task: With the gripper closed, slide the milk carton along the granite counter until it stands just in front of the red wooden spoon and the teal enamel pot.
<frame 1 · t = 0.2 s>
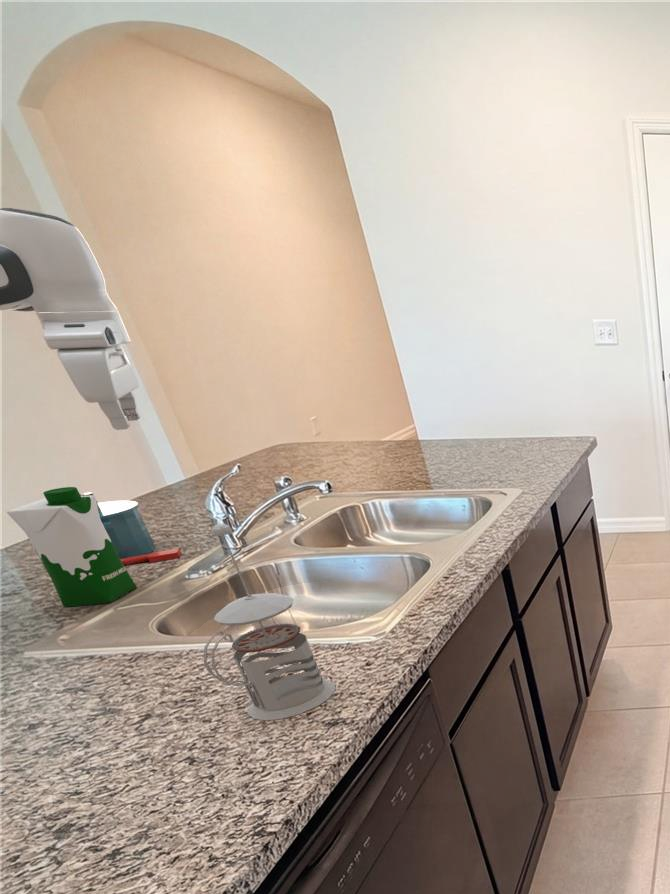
hand: (128, 424, 105), 31 cm above the counter, tool pointing down, fingers open, 8 cm apart
spoon: (134, 563, 134), on the counter
pot: (116, 555, 138), on the counter
milk carton: (101, 598, 119), on the counter
french press: (286, 703, 88), on the counter
white lid: (94, 512, 134), point 9 cm above the counter, touching pot
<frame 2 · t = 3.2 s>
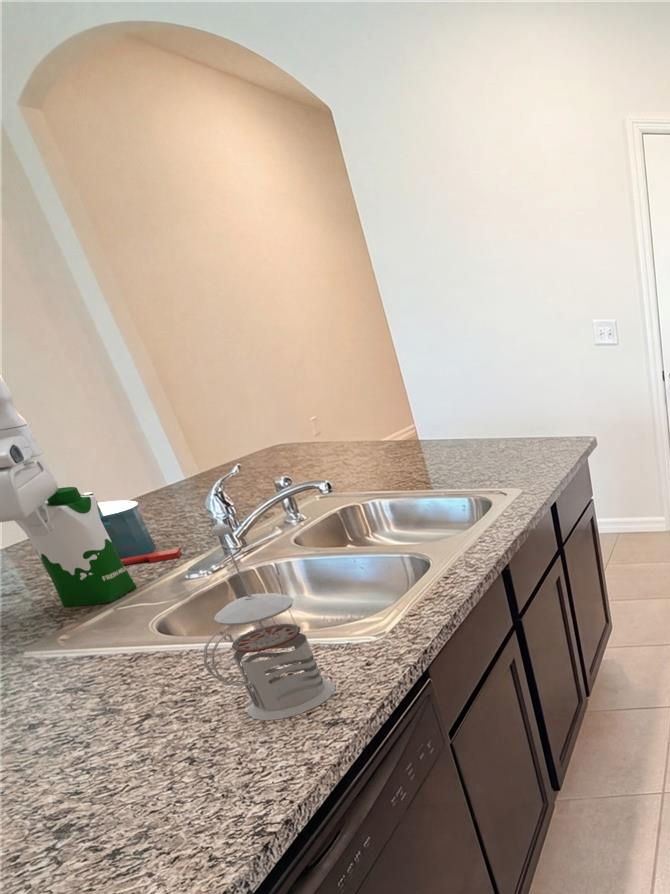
hand: (44, 533, 105), 15 cm above the counter, tool pointing down, fingers closed
nothing on the counter moved.
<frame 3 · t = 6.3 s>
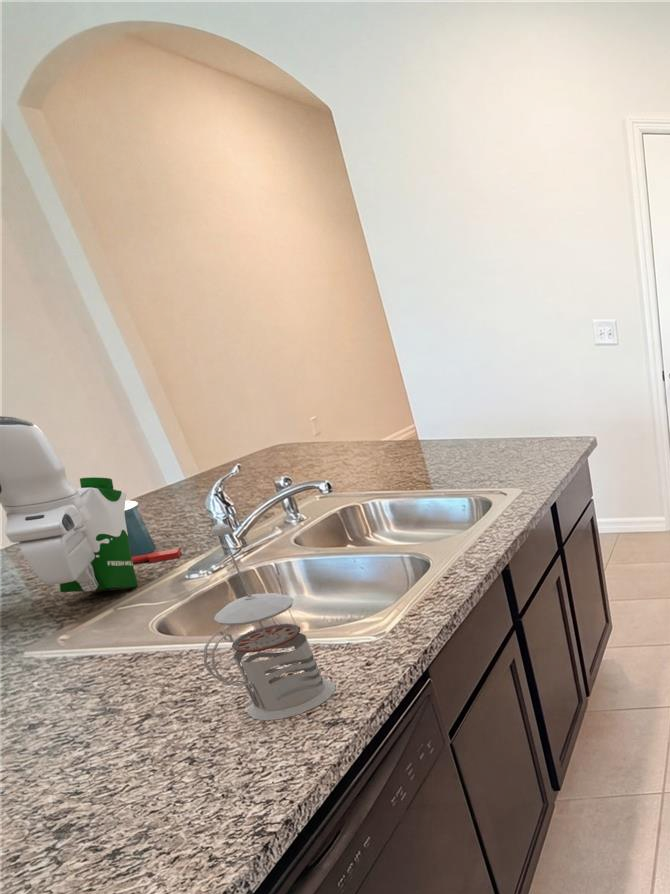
hand: (92, 589, 115), 3 cm above the counter, tool pointing down, fingers closed, pressing on milk carton
milk carton: (100, 590, 119), point 1 cm above the counter, touching gripper
everything else where it was.
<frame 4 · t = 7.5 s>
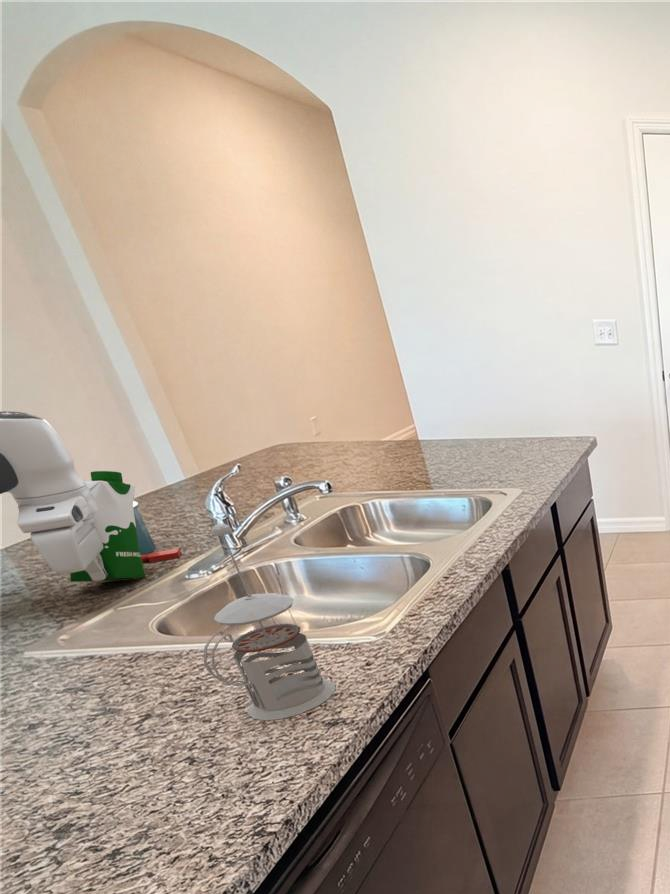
hand: (101, 578, 119), 3 cm above the counter, tool pointing down, fingers closed
milk carton: (109, 580, 123), point 1 cm above the counter, touching gripper
everything else where it was.
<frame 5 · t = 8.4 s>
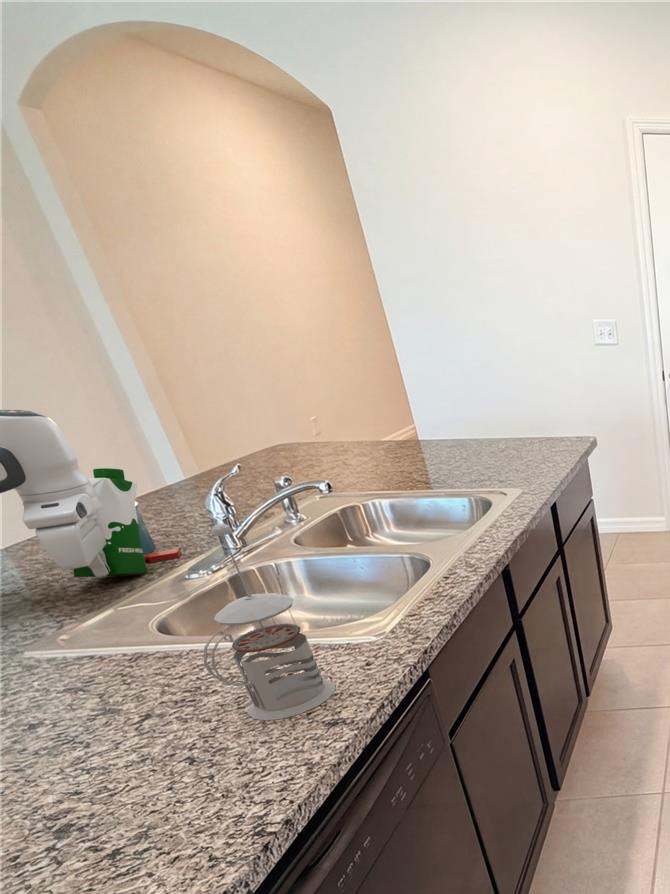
hand: (103, 574, 121), 3 cm above the counter, tool pointing down, fingers closed
milk carton: (111, 576, 125), point 1 cm above the counter, touching gripper
everything else where it was.
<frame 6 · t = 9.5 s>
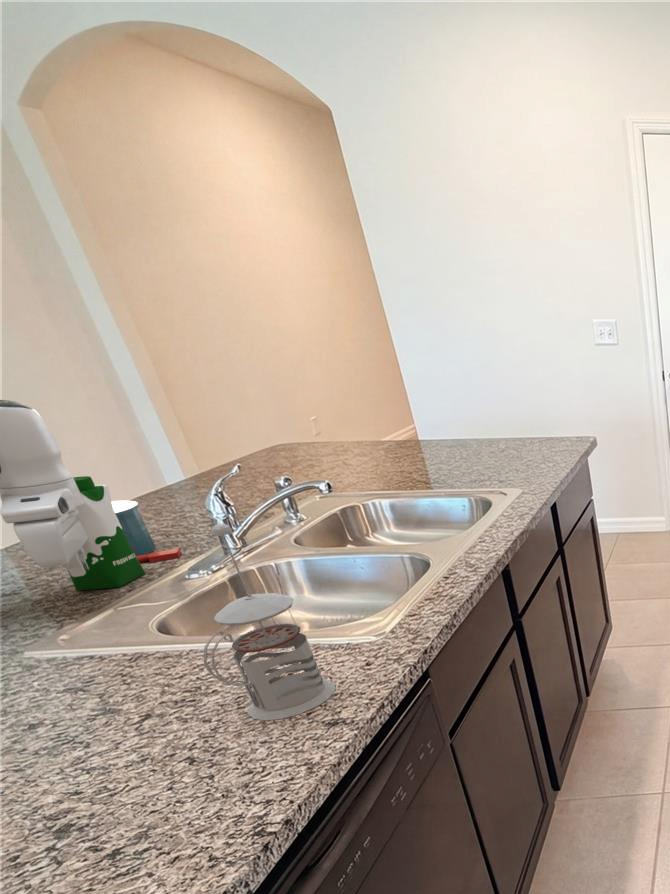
hand: (81, 573, 116), 5 cm above the counter, tool pointing down, fingers closed
milk carton: (112, 582, 125), on the counter
everything else where it was.
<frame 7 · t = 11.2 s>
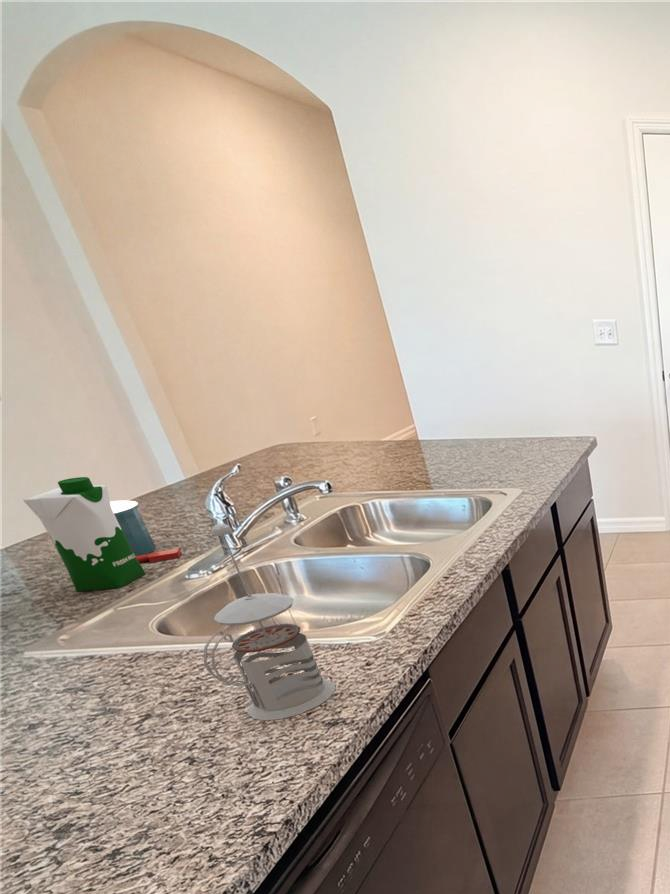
nothing on the counter moved.
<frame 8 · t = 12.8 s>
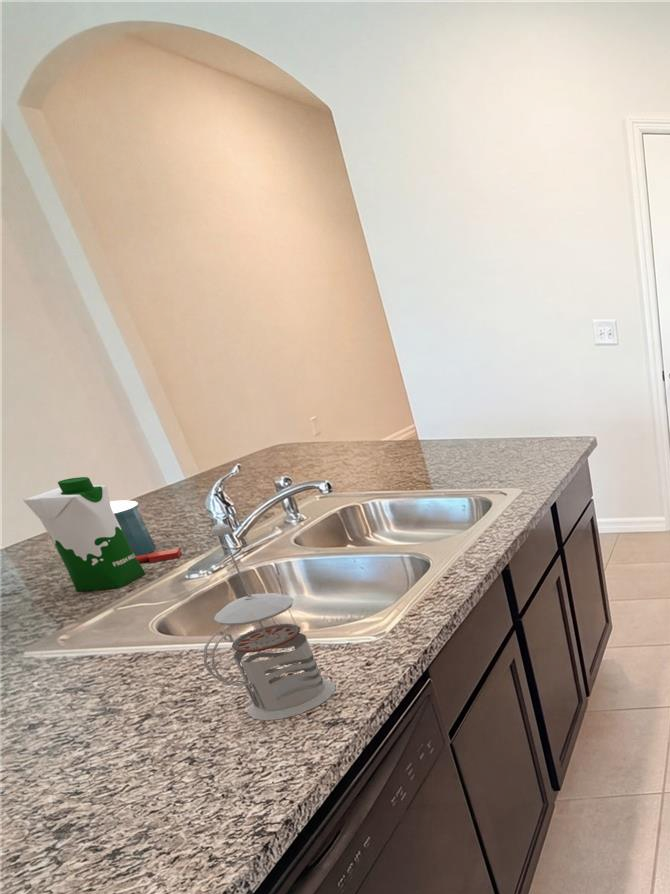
nothing on the counter moved.
at the end: milk carton inside the target area on the counter beside the pot (1.6 cm from its centre), on the counter; milk carton tilted 0°; milk carton moved 8.1 cm from its start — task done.
